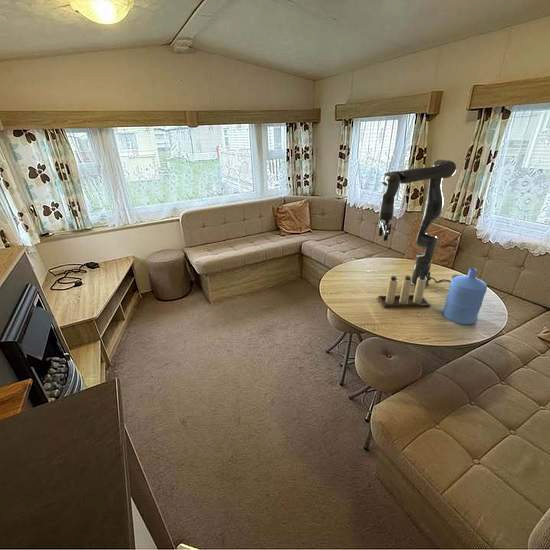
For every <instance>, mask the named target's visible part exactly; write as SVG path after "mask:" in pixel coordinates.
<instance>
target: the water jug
mask: <svg viewBox="0 0 550 550" xmlns="http://www.w3.org/2000/svg"><path fill="white" fill-rule="evenodd" d="M477 271H478V269H477V268H474V267H470V268H469V269H468V272H467V275H464V276H456V277H454V278H453V279H452V278H451V280H450V281H451V282H450V284H449V289H448V293H447V295H446V299H445V304H444V307H443V309H442V314H443V316H444V317H445V318H446V319H447V320H449V321H451V322H452V323H456V324H459V325H473V324H475V323H476V322H477V320H478V317H479V316H478V315H479V313H480V310H481V308H482V304H483V300H484V297H485V295H486V293H487V288H488V284H487V283H486V282H485V281H484V280H482V279H480V278H477V277H476V274H477Z"/></svg>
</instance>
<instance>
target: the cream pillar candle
mask: <svg viewBox="0 0 550 550" xmlns="http://www.w3.org/2000/svg"><path fill="white" fill-rule="evenodd" d="M398 281H399V280H398V278H397V276H395V275H392V276H390V278H389V279H388V282H387V289H386V294H385V296H386V301H385V302H386V303H387V304H390V305H391V304H394V299H395V296H396V293H397V287H398Z"/></svg>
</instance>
